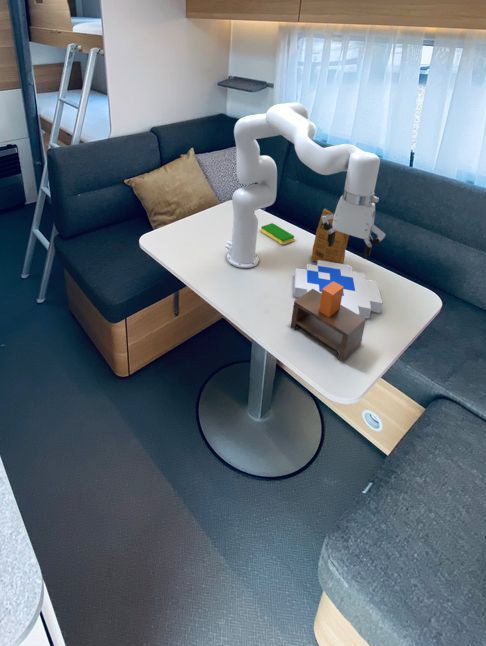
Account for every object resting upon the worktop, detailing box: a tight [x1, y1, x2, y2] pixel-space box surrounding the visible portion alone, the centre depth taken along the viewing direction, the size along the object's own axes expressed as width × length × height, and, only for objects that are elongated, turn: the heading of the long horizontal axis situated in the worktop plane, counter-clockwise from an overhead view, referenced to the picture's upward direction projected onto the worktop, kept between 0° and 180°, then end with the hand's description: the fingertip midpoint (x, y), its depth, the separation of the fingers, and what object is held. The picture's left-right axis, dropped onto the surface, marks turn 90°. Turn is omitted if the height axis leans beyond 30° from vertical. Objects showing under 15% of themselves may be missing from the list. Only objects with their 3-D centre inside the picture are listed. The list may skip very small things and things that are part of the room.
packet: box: [319, 281, 344, 317], centre depth 121 cm, size 4×6×8 cm, turn 130°
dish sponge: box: [260, 222, 295, 246], centre depth 182 cm, size 7×14×2 cm, turn 32°
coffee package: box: [311, 208, 350, 264], centre depth 160 cm, size 10×12×22 cm
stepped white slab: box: [293, 260, 383, 319], centre depth 144 cm, size 28×4×28 cm
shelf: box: [290, 289, 367, 363], centre depth 124 cm, size 18×10×10 cm, turn 40°
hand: (347, 250), depth 118 cm, fingers open, 9 cm apart
